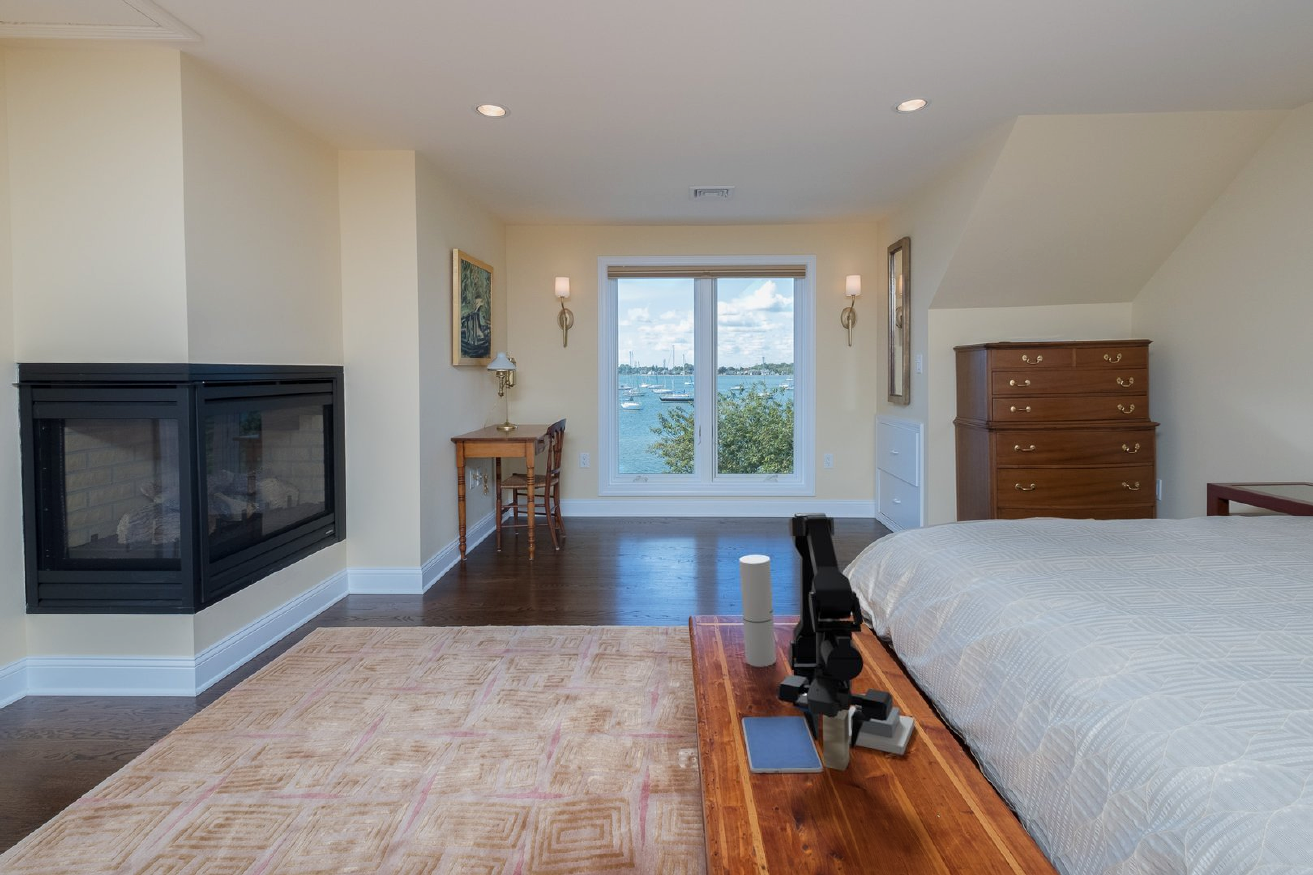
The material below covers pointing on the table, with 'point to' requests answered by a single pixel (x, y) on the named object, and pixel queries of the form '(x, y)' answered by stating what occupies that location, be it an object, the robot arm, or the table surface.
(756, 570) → the cylindrical container
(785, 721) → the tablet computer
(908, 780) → the table surface
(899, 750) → the socket board
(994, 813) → the table surface
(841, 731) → the peg
